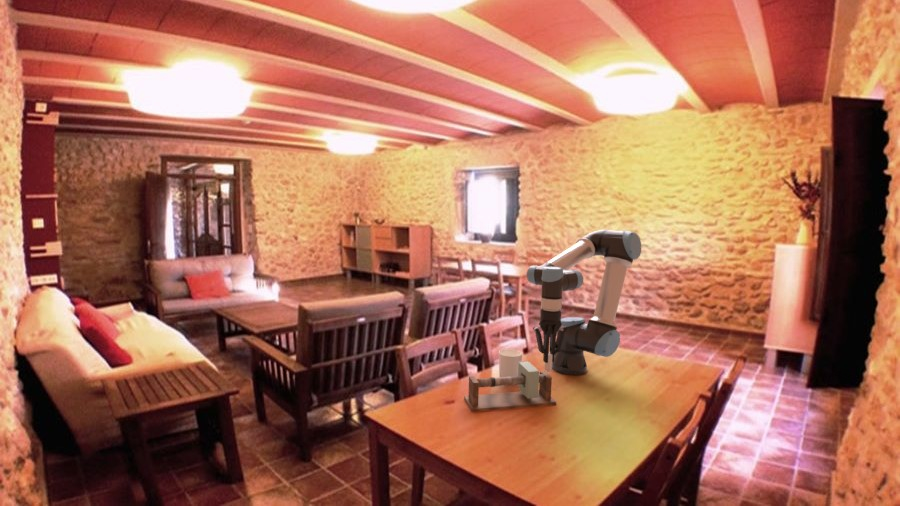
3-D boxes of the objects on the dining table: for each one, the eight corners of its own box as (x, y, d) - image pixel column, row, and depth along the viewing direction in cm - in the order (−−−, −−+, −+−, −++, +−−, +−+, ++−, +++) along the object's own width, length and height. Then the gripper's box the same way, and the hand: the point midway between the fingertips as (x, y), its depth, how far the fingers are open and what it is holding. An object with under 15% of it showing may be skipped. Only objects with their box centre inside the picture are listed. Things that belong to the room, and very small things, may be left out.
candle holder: (520, 376, 190) (521, 349, 188) (522, 385, 180) (523, 357, 179) (497, 375, 191) (498, 348, 189) (497, 384, 181) (498, 355, 180)
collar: (527, 386, 172) (528, 361, 171) (538, 397, 162) (539, 371, 161) (517, 387, 171) (518, 362, 170) (527, 398, 161) (528, 371, 160)
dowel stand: (543, 392, 174) (544, 368, 173) (556, 404, 163) (557, 379, 162) (464, 398, 167) (464, 373, 166) (471, 412, 156) (472, 385, 155)
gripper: (562, 306, 170) (559, 365, 172) (530, 307, 167) (528, 368, 170) (572, 310, 163) (569, 373, 165) (538, 311, 160) (536, 375, 162)
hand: (548, 370), depth 167 cm, fingers closed
